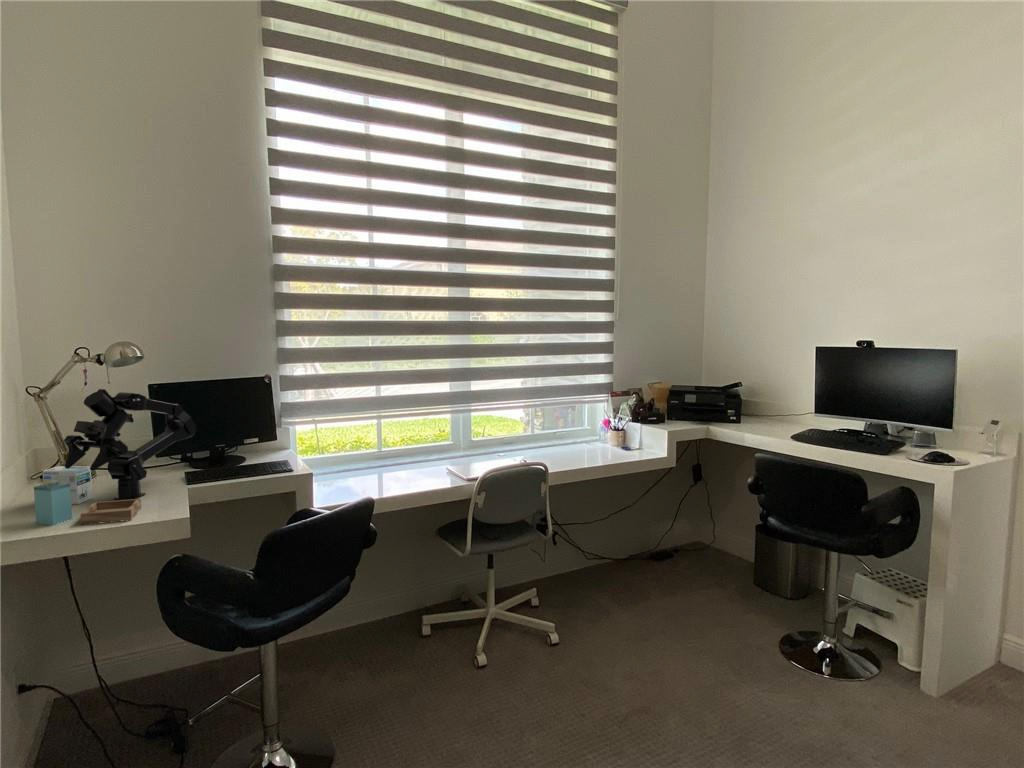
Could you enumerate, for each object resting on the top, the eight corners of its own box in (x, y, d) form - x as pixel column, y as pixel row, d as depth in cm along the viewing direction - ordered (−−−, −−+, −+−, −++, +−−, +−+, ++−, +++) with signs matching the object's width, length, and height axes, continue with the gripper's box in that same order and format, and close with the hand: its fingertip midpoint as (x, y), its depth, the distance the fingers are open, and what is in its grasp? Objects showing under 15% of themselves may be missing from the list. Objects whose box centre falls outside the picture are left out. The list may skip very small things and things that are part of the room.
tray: (94, 512, 175) (94, 502, 174) (141, 508, 179) (140, 498, 179) (81, 524, 163) (80, 514, 163) (131, 520, 168) (130, 510, 167)
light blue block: (55, 517, 169) (53, 478, 168) (72, 519, 168) (69, 480, 167) (36, 523, 164) (33, 483, 163) (53, 525, 163) (50, 485, 162)
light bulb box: (93, 498, 188) (91, 465, 187) (78, 504, 182) (76, 470, 181) (59, 498, 188) (57, 465, 187) (43, 504, 181) (41, 470, 180)
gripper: (67, 408, 178) (32, 451, 169) (117, 411, 174) (84, 455, 164) (92, 430, 187) (61, 472, 177) (141, 433, 182) (111, 476, 173)
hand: (78, 468), depth 172 cm, fingers open, 9 cm apart
